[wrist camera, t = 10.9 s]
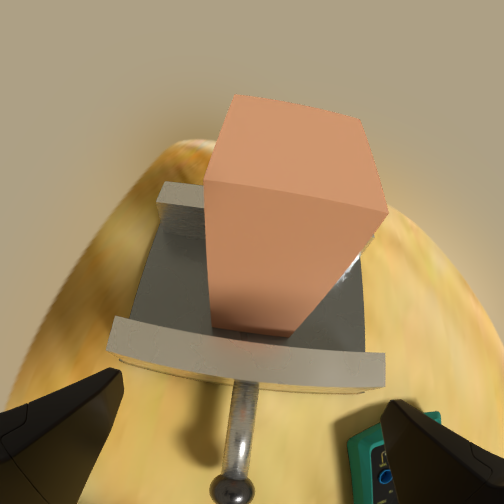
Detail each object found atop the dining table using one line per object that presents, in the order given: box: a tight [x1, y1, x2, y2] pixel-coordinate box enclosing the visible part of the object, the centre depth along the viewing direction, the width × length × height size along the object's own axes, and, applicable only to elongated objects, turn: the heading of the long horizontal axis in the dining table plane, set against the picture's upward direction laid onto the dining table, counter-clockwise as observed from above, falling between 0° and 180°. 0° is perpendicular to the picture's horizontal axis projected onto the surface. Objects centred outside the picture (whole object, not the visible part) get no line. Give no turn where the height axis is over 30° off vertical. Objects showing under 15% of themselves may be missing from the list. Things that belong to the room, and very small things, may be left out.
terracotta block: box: [203, 94, 389, 337], centre depth 14 cm, size 5×5×12 cm
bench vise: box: [106, 181, 385, 504], centre depth 16 cm, size 20×16×4 cm
